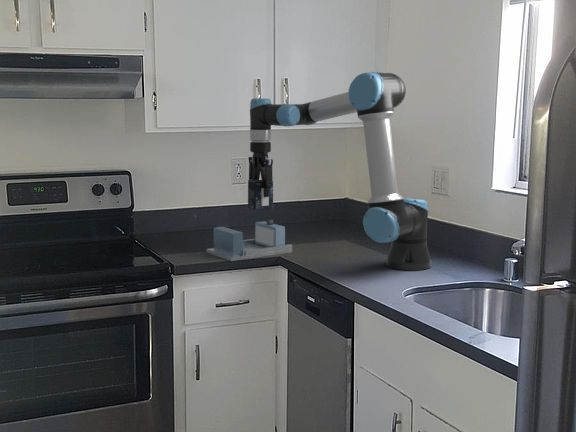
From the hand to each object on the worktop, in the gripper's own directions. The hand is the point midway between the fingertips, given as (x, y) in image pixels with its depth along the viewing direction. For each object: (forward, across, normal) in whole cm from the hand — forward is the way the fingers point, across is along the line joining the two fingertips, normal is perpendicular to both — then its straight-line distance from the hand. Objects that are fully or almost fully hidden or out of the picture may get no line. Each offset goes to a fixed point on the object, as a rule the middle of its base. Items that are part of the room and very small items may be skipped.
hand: (260, 204), depth 274 cm
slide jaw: (+16, 0, -4) cm, 16 cm away
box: (+2, 0, 0) cm, 2 cm away
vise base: (+17, -1, +5) cm, 18 cm away
